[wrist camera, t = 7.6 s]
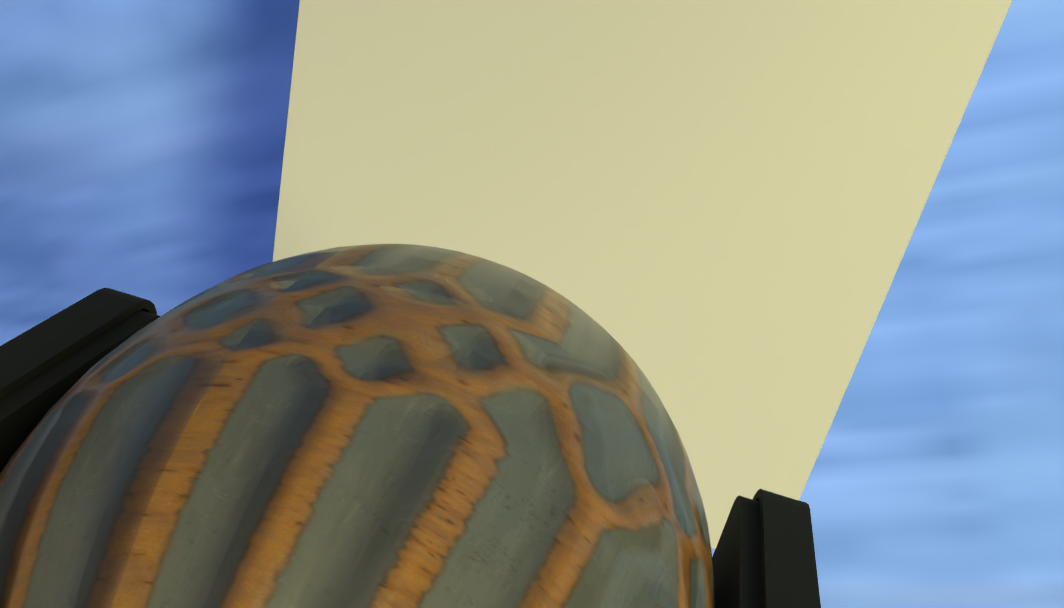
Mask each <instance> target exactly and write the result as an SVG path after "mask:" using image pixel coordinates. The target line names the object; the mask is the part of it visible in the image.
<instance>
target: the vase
mask: <svg viewBox="0 0 1064 608" xmlns="http://www.w3.org/2000/svg"><path fill="white" fill-rule="evenodd" d="M0 608H715V593H714V574H713V564H712V554H711V544H710V537H709V529H708V523H707V518H706V514H705V510H704V506H703V501H702V498H701V495H700V492H699V489H698V485H697V482H696V479H695V476H694V473H693V470H692V467H691V464H690V461H689V458H688V455H687V452H686V450H685V447H684V445H683V443H682V440H681V438H680V436H679V433H678V431H677V430H676V428H675V426H674V424H673V422H672V420H671V418H670V416H669V414H668V412H667V411H666V409H665V407H664V405H663V403H662V402H661V400H660V398H659V396H658V394H657V393H656V391H655V390H654V388H653V387H652V385H651V383H650V382H649V380H648V379H647V377H646V376H645V375H644V373H643V372H642V371H641V369H640V368H639V367H638V365H637V364H636V363H635V361H634V360H633V359H632V358H631V357H630V355H629V354H628V353H627V352H626V351H625V350H624V349H623V347H622V346H621V345H620V344H619V343H618V342H617V341H616V340H615V339H614V338H613V337H612V336H611V335H610V334H609V333H608V332H607V331H606V330H605V329H604V328H603V327H602V326H601V325H599V324H598V323H597V322H596V321H595V320H593V319H592V318H591V317H590V316H589V315H588V314H586V313H585V312H584V311H583V310H582V309H580V308H579V307H578V306H576V305H575V304H574V303H572V302H571V301H569V300H568V299H567V298H565V297H564V296H562V295H561V294H559V293H558V292H556V291H554V290H553V289H551V288H550V287H548V286H546V285H545V284H543V283H541V282H539V281H537V280H535V279H533V278H531V277H529V276H528V275H525V274H523V273H521V272H519V271H516V270H514V269H512V268H509V267H507V266H504V265H501V264H498V263H496V262H493V261H490V260H487V259H484V258H481V257H477V256H474V255H470V254H466V253H463V252H459V251H454V250H449V249H444V248H439V247H431V246H423V245H413V244H370V245H356V246H344V247H335V248H330V249H325V250H319V251H314V252H309V253H304V254H300V255H296V256H293V257H289V258H285V259H281V260H278V261H274V262H271V263H267V264H264V265H261V266H258V267H255V268H253V269H250V270H248V271H245V272H243V273H240V274H238V275H236V276H234V277H232V278H230V279H228V280H226V281H224V282H222V283H220V284H218V285H216V286H214V287H212V288H210V289H208V290H206V291H204V292H202V293H200V294H198V295H196V296H194V297H192V298H190V299H188V300H187V301H185V302H183V303H182V304H180V305H178V306H177V307H175V308H174V309H172V310H170V311H169V312H167V313H166V314H164V315H162V316H161V317H159V318H157V319H156V320H154V321H153V322H151V323H150V324H148V325H147V326H145V327H144V328H142V329H140V330H139V331H137V332H136V333H135V334H134V335H132V336H131V337H130V338H128V339H127V340H126V341H124V342H123V343H122V344H120V345H119V346H118V347H117V348H115V349H114V350H113V351H111V352H110V353H109V354H107V355H106V356H105V357H104V358H103V359H101V360H100V361H99V362H98V363H96V364H95V365H94V366H93V367H91V368H90V369H89V370H88V371H87V372H86V373H85V374H84V375H83V376H82V377H81V378H80V379H79V380H78V381H77V382H76V383H75V384H74V385H73V386H72V387H71V388H70V389H69V390H68V391H67V392H66V393H65V394H64V395H63V396H62V397H61V398H60V399H59V400H58V401H57V402H56V403H55V404H54V405H53V406H52V407H51V408H50V409H49V411H48V412H47V413H46V414H45V416H44V417H43V418H42V419H41V421H40V422H39V423H38V424H37V426H36V427H35V428H34V429H33V431H32V432H31V433H30V434H29V436H28V437H27V438H26V439H25V441H24V442H23V443H22V444H21V446H20V447H19V448H18V449H17V451H16V452H15V453H14V454H13V456H12V457H11V458H10V460H9V461H8V463H7V464H6V466H5V467H4V469H3V470H2V471H1V473H0Z"/></svg>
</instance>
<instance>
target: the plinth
mask: <svg viewBox="0 0 1064 608" xmlns="http://www.w3.org/2000/svg"><path fill="white" fill-rule="evenodd" d="M1011 2H1012V0H300V3H299V13H298V23H297V32H296V42H295V51H294V61H293V70H292V80H291V90H290V99H289V109H288V118H287V128H286V137H285V147H284V157H283V166H282V176H281V185H280V195H279V205H278V214H277V224H276V233H275V243H274V252H273V262H274V261H278V260H281V259H285V258H289V257H293V256H296V255H300V254H304V253H309V252H314V251H319V250H325V249H330V248H335V247H344V246H356V245H370V244H413V245H423V246H431V247H439V248H444V249H449V250H454V251H459V252H463V253H466V254H470V255H474V256H477V257H481V258H484V259H487V260H490V261H493V262H496V263H498V264H501V265H504V266H507V267H509V268H512V269H514V270H516V271H519V272H521V273H523V274H525V275H528V276H529V277H531V278H533V279H535V280H537V281H539V282H541V283H543V284H545V285H546V286H548V287H550V288H551V289H553V290H554V291H556V292H558V293H559V294H561V295H562V296H564V297H565V298H567V299H568V300H569V301H571V302H572V303H574V304H575V305H576V306H578V307H579V308H580V309H582V310H583V311H584V312H585V313H586V314H588V315H589V316H590V317H591V318H592V319H593V320H595V321H596V322H597V323H598V324H599V325H601V326H602V327H603V328H604V329H605V330H606V331H607V332H608V333H609V334H610V335H611V336H612V337H613V338H614V339H615V340H616V341H617V342H618V343H619V344H620V345H621V346H622V347H623V349H624V350H625V351H626V352H627V353H628V354H629V355H630V357H631V358H632V359H633V360H634V361H635V363H636V364H637V365H638V367H639V368H640V369H641V371H642V372H643V373H644V375H645V376H646V377H647V379H648V380H649V382H650V383H651V385H652V387H653V388H654V390H655V391H656V393H657V394H658V396H659V398H660V400H661V402H662V403H663V405H664V407H665V409H666V411H667V412H668V414H669V416H670V418H671V420H672V422H673V424H674V426H675V428H676V430H677V431H678V433H679V436H680V438H681V440H682V443H683V445H684V447H685V450H686V452H687V455H688V458H689V461H690V464H691V467H692V470H693V473H694V476H695V479H696V482H697V485H698V489H699V492H700V495H701V498H702V501H703V506H704V510H705V514H706V518H707V523H708V529H709V537H710V544H711V548H713V549H716V547H717V544H718V542H719V539H720V536H721V534H722V531H723V529H724V526H725V523H726V521H727V518H728V516H729V513H730V511H731V508H732V506H733V503H734V501H735V499H736V498H737V496H739V495H740V496H743V497H746V498H749V499H753V497H754V495H755V494H756V492H757V491H758V490H759V489H763V490H766V491H769V492H773V493H776V494H779V495H782V496H786V497H789V498H792V499H795V500H799V499H800V496H801V494H802V492H803V489H804V487H805V485H806V482H807V480H808V478H809V475H810V473H811V471H812V468H813V466H814V464H815V461H816V459H817V457H818V454H819V452H820V450H821V447H822V445H823V442H824V440H825V438H826V435H827V433H828V431H829V428H830V426H831V424H832V421H833V419H834V417H835V414H836V412H837V410H838V407H839V405H840V403H841V400H842V398H843V396H844V393H845V391H846V389H847V386H848V384H849V382H850V379H851V377H852V375H853V372H854V370H855V367H856V365H857V363H858V360H859V358H860V356H861V353H862V351H863V349H864V346H865V344H866V342H867V339H868V337H869V335H870V332H871V330H872V328H873V325H874V323H875V321H876V318H877V316H878V314H879V311H880V309H881V307H882V304H883V302H884V300H885V297H886V295H887V292H888V290H889V288H890V285H891V283H892V281H893V278H894V276H895V274H896V271H897V269H898V267H899V264H900V262H901V260H902V257H903V255H904V253H905V250H906V248H907V246H908V243H909V241H910V239H911V236H912V234H913V232H914V229H915V227H916V225H917V222H918V220H919V217H920V215H921V213H922V210H923V208H924V206H925V203H926V201H927V199H928V196H929V194H930V192H931V189H932V187H933V185H934V182H935V180H936V178H937V175H938V173H939V171H940V168H941V166H942V164H943V161H944V159H945V157H946V154H947V152H948V150H949V147H950V145H951V142H952V140H953V138H954V135H955V133H956V131H957V128H958V126H959V124H960V121H961V119H962V117H963V114H964V112H965V110H966V107H967V105H968V103H969V100H970V98H971V96H972V93H973V91H974V89H975V86H976V84H977V82H978V79H979V77H980V75H981V72H982V70H983V67H984V65H985V63H986V60H987V58H988V56H989V53H990V51H991V49H992V46H993V44H994V42H995V39H996V37H997V35H998V32H999V30H1000V28H1001V25H1002V23H1003V21H1004V18H1005V16H1006V14H1007V11H1008V9H1009V7H1010V4H1011Z"/></svg>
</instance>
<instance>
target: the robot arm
mask: <svg viewBox="0 0 1064 608" xmlns="http://www.w3.org/2000/svg"><path fill="white" fill-rule="evenodd" d="M159 317H161V316H158V315H157V312H156V309H155V306H154V304H153V303H152V302H151V301H149V300H146V299H143V298H139V297H136V296H133V295H130V294H126V293H123V292H120V291H117V290H113V289H109V288H103V289H100V290H97V291H96V292H94V293H92V294H90V295H89V296H87V297H85V298H83V299H82V300H80V301H78V302H76V303H75V304H73V305H71V306H69V307H68V308H66V309H64V310H63V311H61V312H59V313H57V314H56V315H54V316H52V317H50V318H49V319H47V320H45V321H43V322H42V323H40V324H38V325H36V326H35V327H33V328H31V329H29V330H28V331H26V332H24V333H22V334H21V335H19V336H17V337H15V338H14V339H12V340H10V341H9V342H7V343H5V344H3V345H2V346H0V473H1V471H2V470H3V469H4V467H5V466H6V464H7V463H8V461H9V460H10V458H11V457H12V456H13V454H14V453H15V452H16V451H17V449H18V448H19V447H20V446H21V444H22V443H23V442H24V441H25V439H26V438H27V437H28V436H29V434H30V433H31V432H32V431H33V429H34V428H35V427H36V426H37V424H38V423H39V422H40V421H41V419H42V418H43V417H44V416H45V414H46V413H47V412H48V411H49V409H50V408H51V407H52V406H53V405H54V404H55V403H56V402H57V401H58V400H59V399H60V398H61V397H62V396H63V395H64V394H65V393H66V392H67V391H68V390H69V389H70V388H71V387H72V386H73V385H74V384H75V383H76V382H77V381H78V380H79V379H80V378H81V377H82V376H83V375H84V374H85V373H86V372H87V371H88V370H89V369H90V368H91V367H93V366H94V365H95V364H96V363H98V362H99V361H100V360H101V359H103V358H104V357H105V356H106V355H107V354H109V353H110V352H111V351H113V350H114V349H115V348H117V347H118V346H119V345H120V344H122V343H123V342H124V341H126V340H127V339H128V338H130V337H131V336H132V335H134V334H135V333H136V332H137V331H139V330H140V329H142V328H144V327H145V326H147V325H148V324H150V323H151V322H153V321H154V320H156V319H157V318H159ZM712 564H713V574H714V593H715V608H821V605H820V596H819V587H818V578H817V569H816V560H815V551H814V542H813V533H812V524H811V515H810V508H809V505H808V504H807V503H805V502H802V501H799V500H795V499H792V498H789V497H786V496H782V495H779V494H776V493H773V492H769V491H766V490H763V489H759V490H758V491H757V492H756V494H755V495H754V497H753V499H749V498H746V497H743V496H740V495H739V496H737V498H736V499H735V501H734V503H733V506H732V508H731V511H730V513H729V516H728V518H727V521H726V523H725V526H724V529H723V531H722V534H721V536H720V539H719V542H718V544H717V547H716V549H715V552H714V554H713V557H712Z"/></svg>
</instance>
